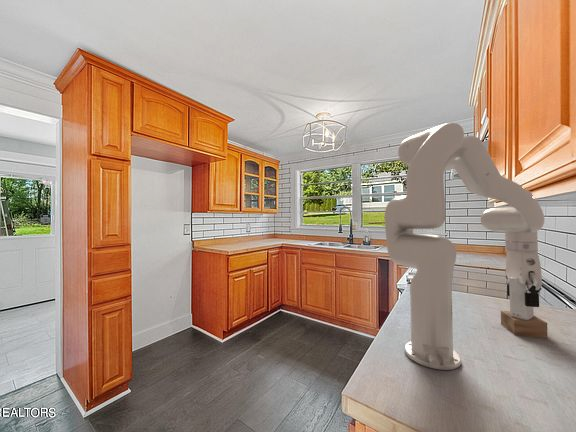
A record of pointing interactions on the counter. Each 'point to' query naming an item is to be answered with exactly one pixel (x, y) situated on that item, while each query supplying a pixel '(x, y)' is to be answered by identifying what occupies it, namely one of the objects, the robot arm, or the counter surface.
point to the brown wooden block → (524, 325)
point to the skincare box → (519, 301)
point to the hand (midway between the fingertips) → (522, 301)
